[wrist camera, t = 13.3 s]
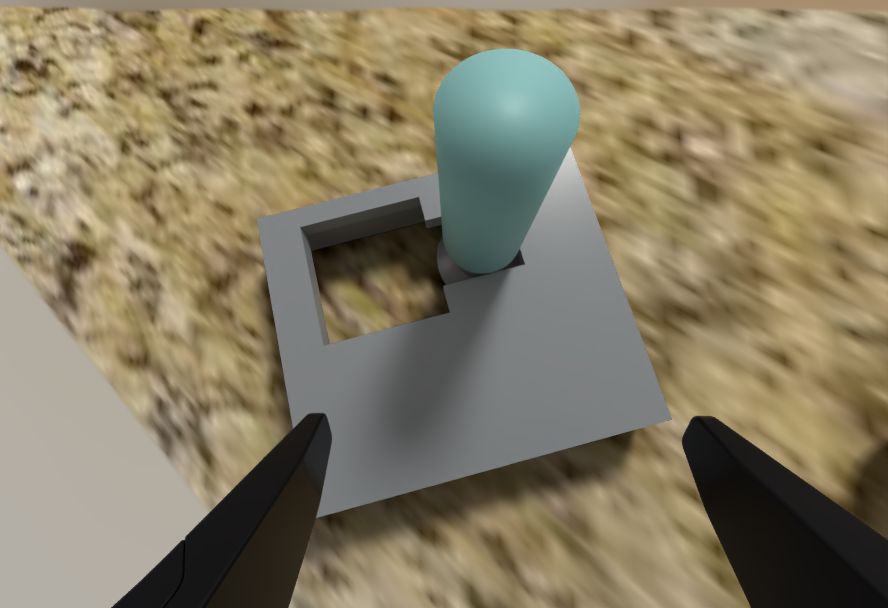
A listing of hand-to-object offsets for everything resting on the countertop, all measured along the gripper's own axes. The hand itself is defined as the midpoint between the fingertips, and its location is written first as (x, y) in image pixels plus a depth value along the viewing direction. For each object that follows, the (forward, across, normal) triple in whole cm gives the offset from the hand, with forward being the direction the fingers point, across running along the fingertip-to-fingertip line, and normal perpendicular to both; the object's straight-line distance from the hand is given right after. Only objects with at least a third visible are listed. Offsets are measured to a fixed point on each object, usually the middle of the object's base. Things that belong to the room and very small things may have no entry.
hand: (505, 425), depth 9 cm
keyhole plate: (+10, +2, +4) cm, 11 cm away
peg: (+13, 0, +2) cm, 13 cm away
